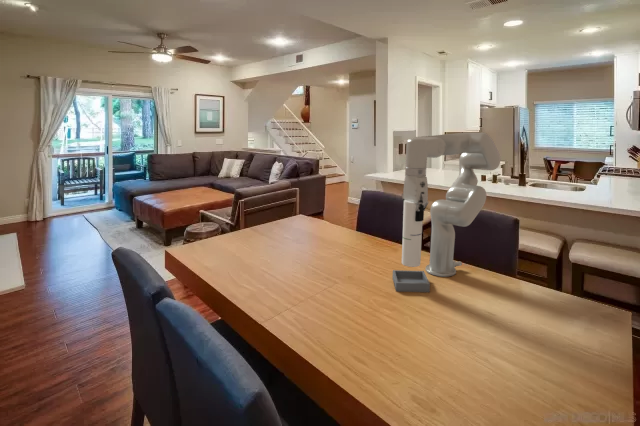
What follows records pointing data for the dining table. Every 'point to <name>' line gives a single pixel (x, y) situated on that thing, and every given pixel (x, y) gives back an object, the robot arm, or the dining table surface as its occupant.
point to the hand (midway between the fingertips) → (413, 218)
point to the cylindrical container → (411, 236)
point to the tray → (410, 281)
